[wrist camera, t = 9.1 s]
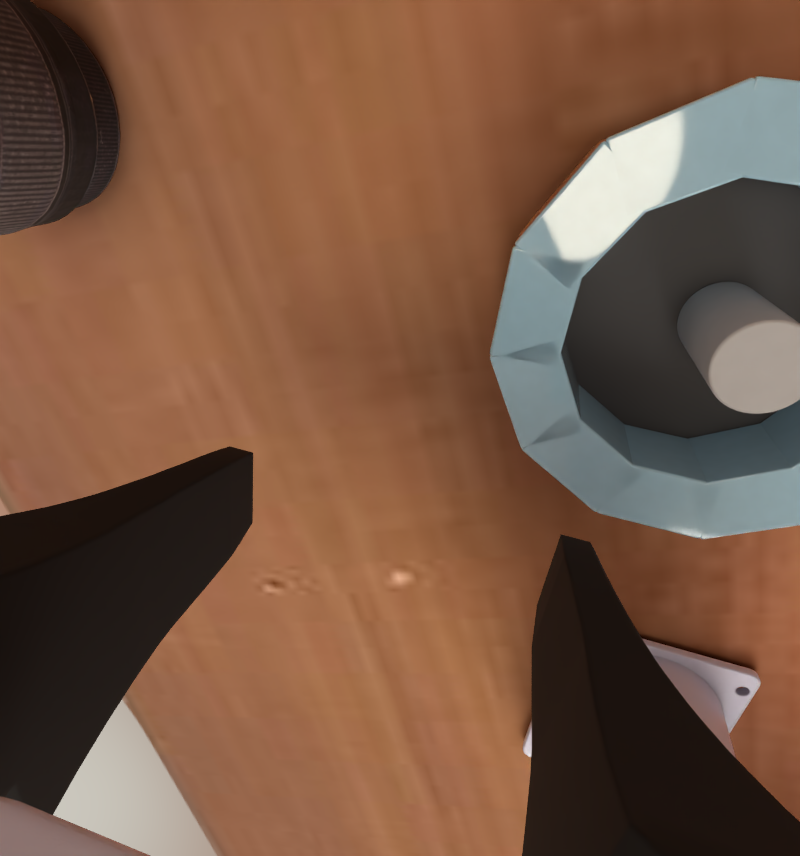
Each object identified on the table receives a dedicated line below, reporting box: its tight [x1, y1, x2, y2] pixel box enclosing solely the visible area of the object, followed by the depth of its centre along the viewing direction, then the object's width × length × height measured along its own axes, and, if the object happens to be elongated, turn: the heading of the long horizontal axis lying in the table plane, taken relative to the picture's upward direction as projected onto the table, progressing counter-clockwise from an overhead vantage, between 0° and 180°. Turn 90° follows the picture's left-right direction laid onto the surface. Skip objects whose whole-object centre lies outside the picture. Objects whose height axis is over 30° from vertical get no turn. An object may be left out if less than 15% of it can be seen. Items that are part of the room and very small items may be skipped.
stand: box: [565, 178, 800, 439], centre depth 16 cm, size 9×9×6 cm
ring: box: [490, 76, 800, 539], centre depth 16 cm, size 12×12×3 cm
